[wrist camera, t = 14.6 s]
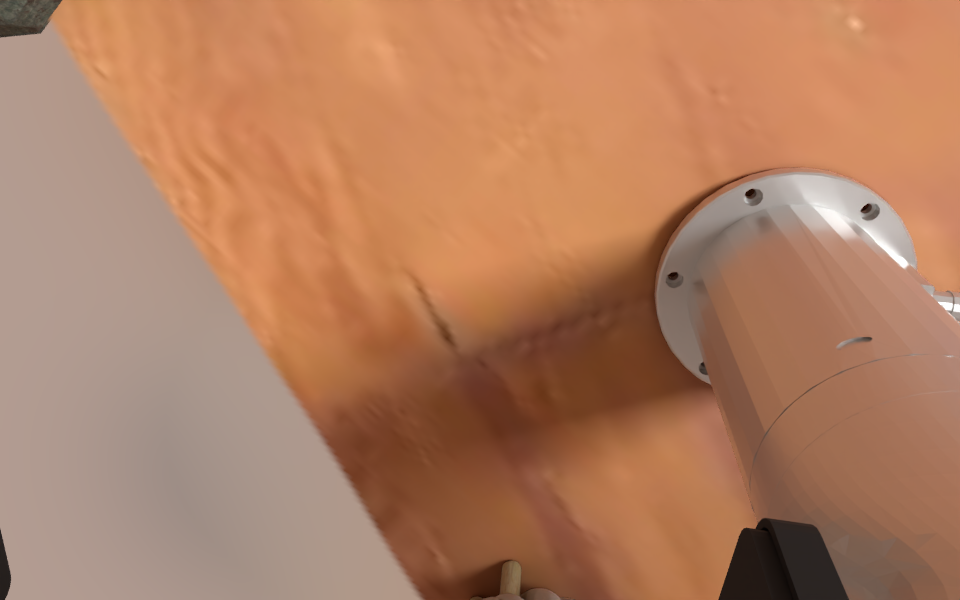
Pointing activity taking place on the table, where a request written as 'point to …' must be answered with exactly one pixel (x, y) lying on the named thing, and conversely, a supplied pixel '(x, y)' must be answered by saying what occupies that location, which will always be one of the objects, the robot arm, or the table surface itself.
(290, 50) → the table surface
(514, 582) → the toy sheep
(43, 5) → the sword in stone
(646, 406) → the table surface
